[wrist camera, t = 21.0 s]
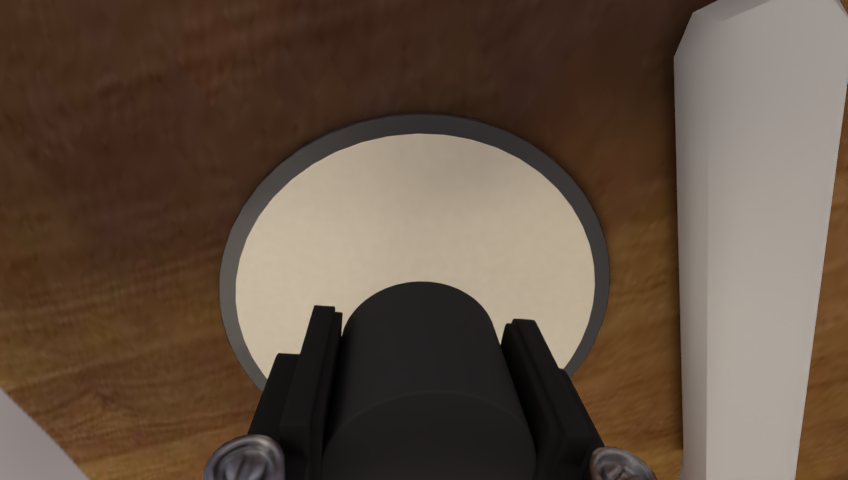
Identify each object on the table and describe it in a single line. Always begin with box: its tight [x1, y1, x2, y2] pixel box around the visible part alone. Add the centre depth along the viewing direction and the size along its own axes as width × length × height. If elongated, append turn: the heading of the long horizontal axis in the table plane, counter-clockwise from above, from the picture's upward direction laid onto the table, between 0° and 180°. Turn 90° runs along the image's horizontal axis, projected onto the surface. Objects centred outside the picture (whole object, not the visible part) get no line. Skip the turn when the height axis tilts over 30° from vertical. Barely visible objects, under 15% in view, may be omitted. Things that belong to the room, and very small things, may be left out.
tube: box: [674, 0, 848, 480], centre depth 19 cm, size 5×5×25 cm
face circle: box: [219, 112, 610, 392], centre depth 21 cm, size 18×18×1 cm
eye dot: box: [321, 281, 537, 480], centre depth 11 cm, size 4×4×4 cm
